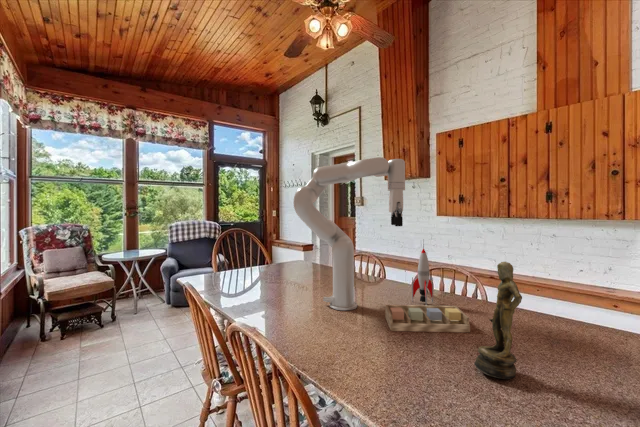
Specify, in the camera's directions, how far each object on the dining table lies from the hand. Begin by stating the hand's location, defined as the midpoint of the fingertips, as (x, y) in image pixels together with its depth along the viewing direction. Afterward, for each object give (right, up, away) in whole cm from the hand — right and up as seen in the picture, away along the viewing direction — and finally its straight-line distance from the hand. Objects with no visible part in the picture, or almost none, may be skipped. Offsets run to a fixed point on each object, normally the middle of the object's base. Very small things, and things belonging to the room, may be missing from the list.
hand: (396, 225), depth 138 cm
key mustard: (+16, -35, -20) cm, 43 cm away
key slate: (+9, -35, -20) cm, 41 cm away
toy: (+14, -37, +4) cm, 39 cm away
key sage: (+2, -35, -19) cm, 40 cm away
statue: (+13, -38, -55) cm, 68 cm away
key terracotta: (-5, -35, -19) cm, 40 cm away
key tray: (+6, -37, -20) cm, 42 cm away
